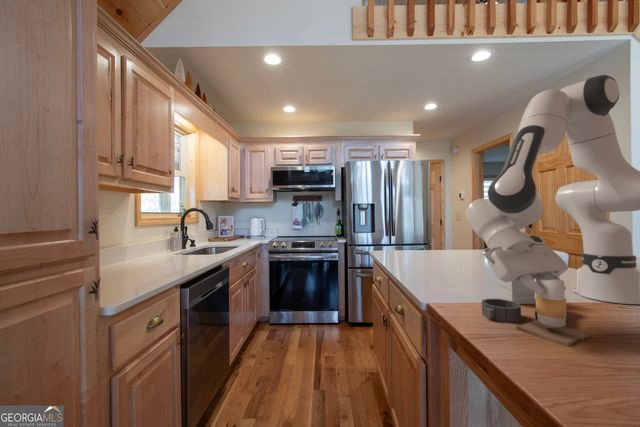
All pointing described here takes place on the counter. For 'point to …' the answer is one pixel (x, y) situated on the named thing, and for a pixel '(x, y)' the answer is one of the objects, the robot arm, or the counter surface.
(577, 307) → the counter surface
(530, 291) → the supplement box
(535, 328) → the walnut board
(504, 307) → the collar
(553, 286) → the two-tone cylinder
